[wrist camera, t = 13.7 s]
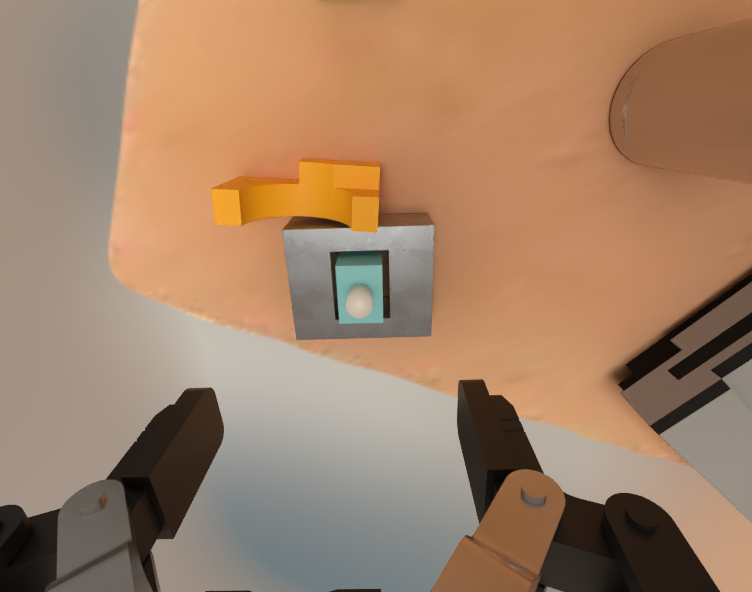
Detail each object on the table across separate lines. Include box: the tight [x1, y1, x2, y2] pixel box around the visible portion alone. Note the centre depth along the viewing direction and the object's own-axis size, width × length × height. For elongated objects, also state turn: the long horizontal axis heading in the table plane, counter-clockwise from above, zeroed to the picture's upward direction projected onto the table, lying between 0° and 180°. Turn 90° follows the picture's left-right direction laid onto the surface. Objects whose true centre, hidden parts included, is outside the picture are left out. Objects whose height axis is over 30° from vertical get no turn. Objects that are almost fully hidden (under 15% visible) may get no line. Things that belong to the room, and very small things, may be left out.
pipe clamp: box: [211, 159, 380, 233], centre depth 31 cm, size 12×4×6 cm, turn 87°
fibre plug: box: [335, 250, 383, 324], centre depth 33 cm, size 4×5×8 cm
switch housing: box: [282, 213, 434, 340], centre depth 35 cm, size 12×10×4 cm
